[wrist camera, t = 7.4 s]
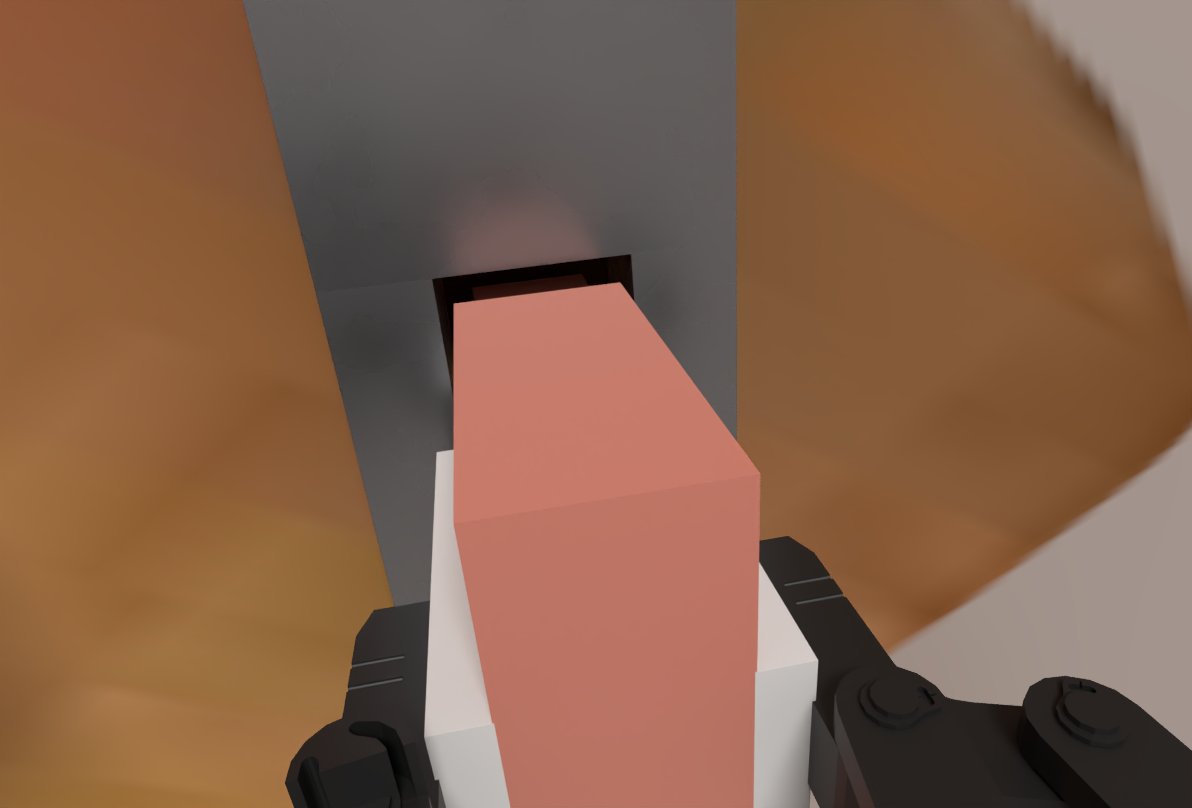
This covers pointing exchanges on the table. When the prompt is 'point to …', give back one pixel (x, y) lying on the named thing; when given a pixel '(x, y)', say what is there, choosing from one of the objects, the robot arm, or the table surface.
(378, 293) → the rail
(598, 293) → the pink slab
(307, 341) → the table surface
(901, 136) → the table surface
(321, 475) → the table surface
